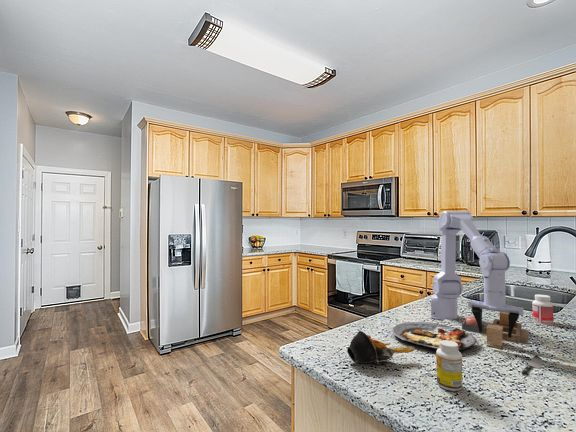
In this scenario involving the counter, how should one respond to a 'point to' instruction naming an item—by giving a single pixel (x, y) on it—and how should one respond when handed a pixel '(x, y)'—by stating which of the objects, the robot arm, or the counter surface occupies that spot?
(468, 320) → the button
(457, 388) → the supplement bottle
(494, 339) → the block
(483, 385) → the counter surface
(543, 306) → the pill bottle
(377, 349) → the fried shrimp in bowl
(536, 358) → the kitchen knife
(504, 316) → the block
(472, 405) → the counter surface
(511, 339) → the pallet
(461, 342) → the food plate
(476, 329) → the button housing
